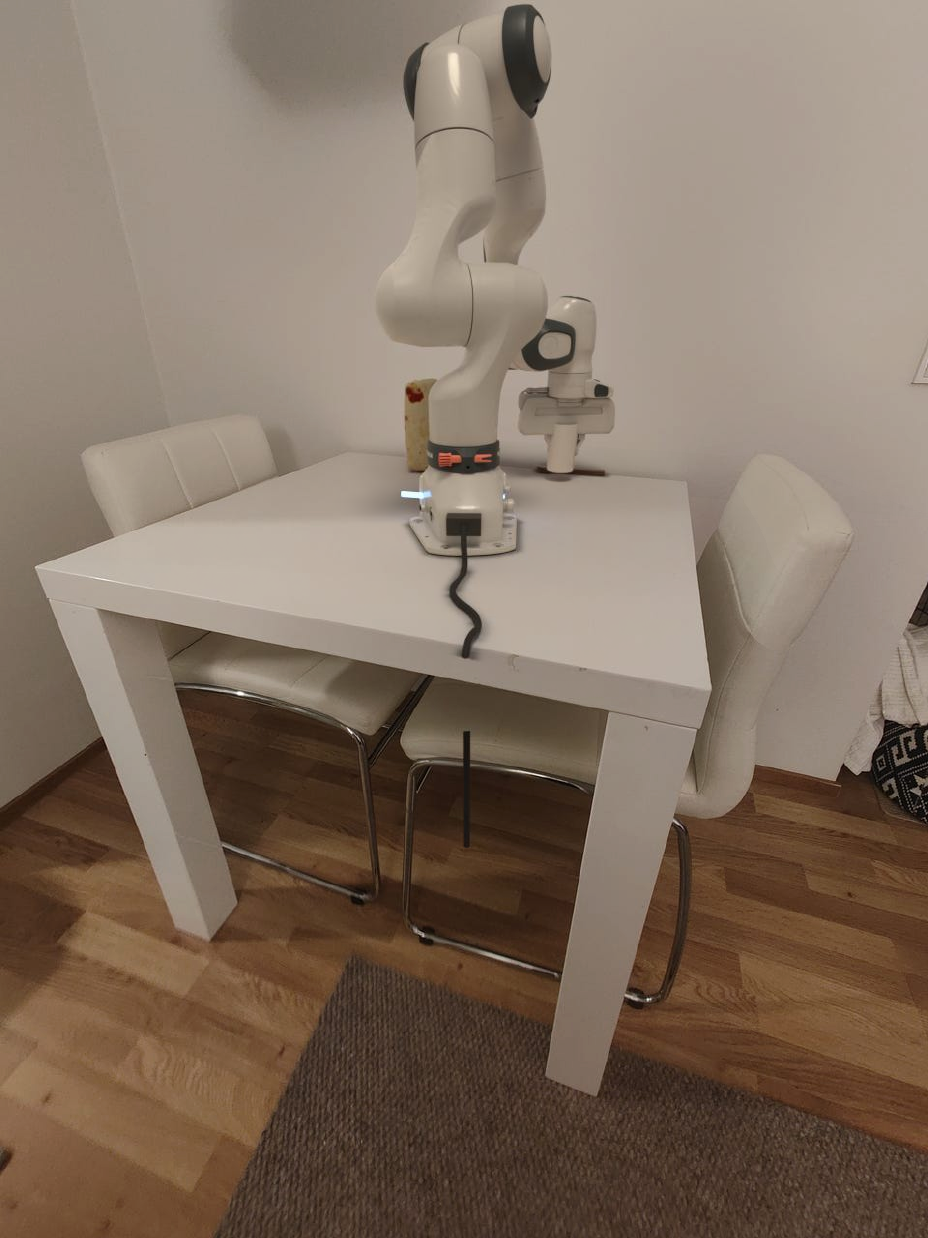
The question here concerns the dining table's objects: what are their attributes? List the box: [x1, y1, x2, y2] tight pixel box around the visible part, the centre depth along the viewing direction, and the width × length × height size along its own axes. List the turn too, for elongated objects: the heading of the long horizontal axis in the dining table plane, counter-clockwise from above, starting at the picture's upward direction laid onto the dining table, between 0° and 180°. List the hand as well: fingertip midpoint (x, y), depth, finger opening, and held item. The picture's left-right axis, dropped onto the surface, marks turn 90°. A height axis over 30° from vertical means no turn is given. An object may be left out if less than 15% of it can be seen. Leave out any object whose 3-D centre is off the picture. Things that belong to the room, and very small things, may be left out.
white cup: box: [546, 424, 578, 474], centre depth 123 cm, size 7×7×10 cm
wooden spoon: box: [536, 463, 606, 477], centre depth 131 cm, size 16×4×1 cm, turn 72°
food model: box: [404, 378, 439, 472], centre depth 130 cm, size 10×7×20 cm
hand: (563, 455), depth 124 cm, fingers closed on white cup, 3 cm apart
